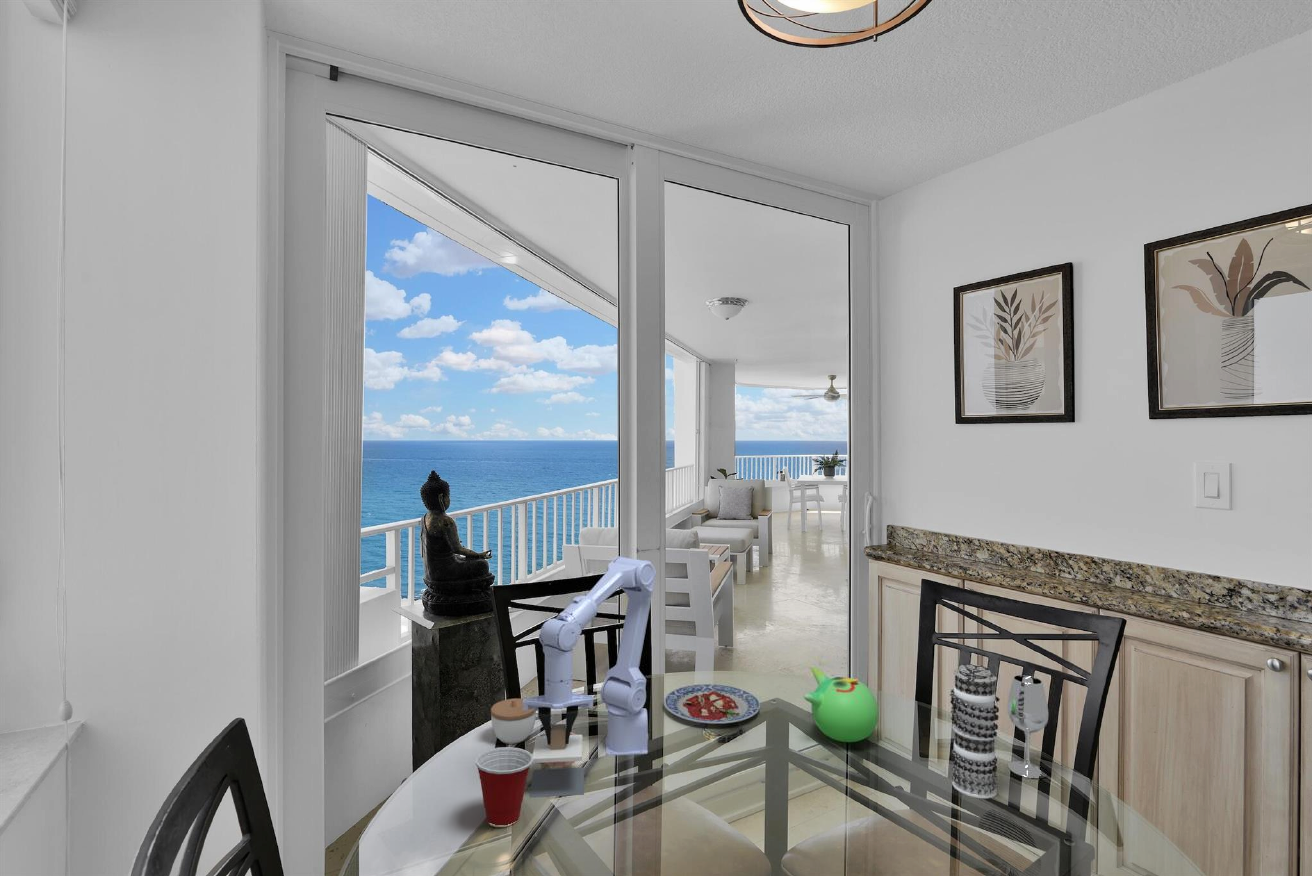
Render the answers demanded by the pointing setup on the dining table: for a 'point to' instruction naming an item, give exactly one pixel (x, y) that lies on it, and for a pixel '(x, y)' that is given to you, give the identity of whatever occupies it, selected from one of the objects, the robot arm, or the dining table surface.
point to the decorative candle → (974, 731)
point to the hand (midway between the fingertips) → (558, 742)
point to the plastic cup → (503, 782)
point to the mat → (557, 782)
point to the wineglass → (1027, 717)
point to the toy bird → (843, 707)
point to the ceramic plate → (711, 703)
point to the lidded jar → (512, 721)
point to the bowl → (558, 764)
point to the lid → (557, 746)
